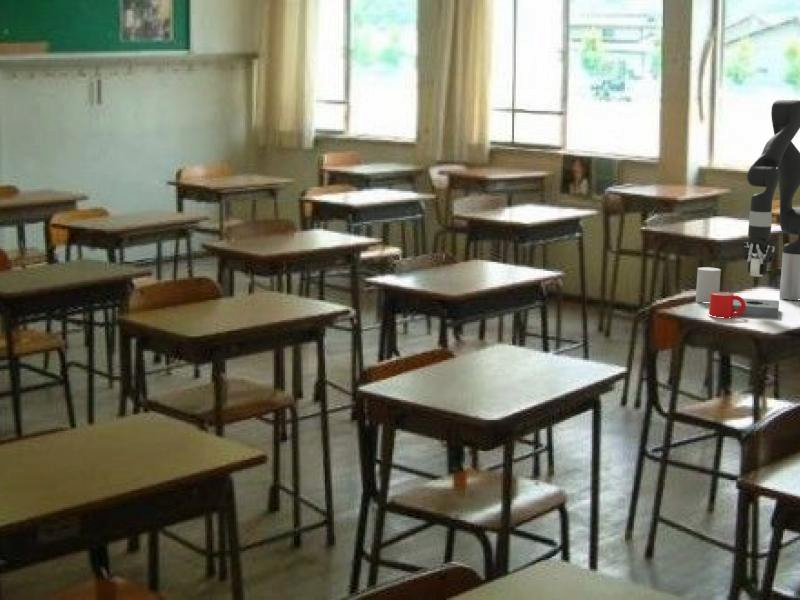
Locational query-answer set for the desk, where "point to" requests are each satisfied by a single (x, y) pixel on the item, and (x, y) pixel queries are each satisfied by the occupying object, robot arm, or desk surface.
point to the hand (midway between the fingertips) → (756, 273)
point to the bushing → (755, 267)
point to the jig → (758, 308)
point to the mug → (724, 304)
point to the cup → (707, 283)
